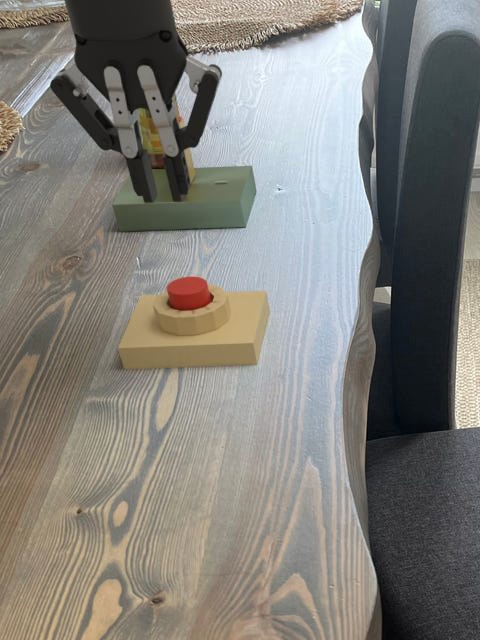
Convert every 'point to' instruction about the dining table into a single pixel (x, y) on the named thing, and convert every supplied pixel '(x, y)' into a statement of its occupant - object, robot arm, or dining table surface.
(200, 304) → the button
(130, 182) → the plate
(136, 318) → the block
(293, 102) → the dining table surface
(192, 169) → the handle
